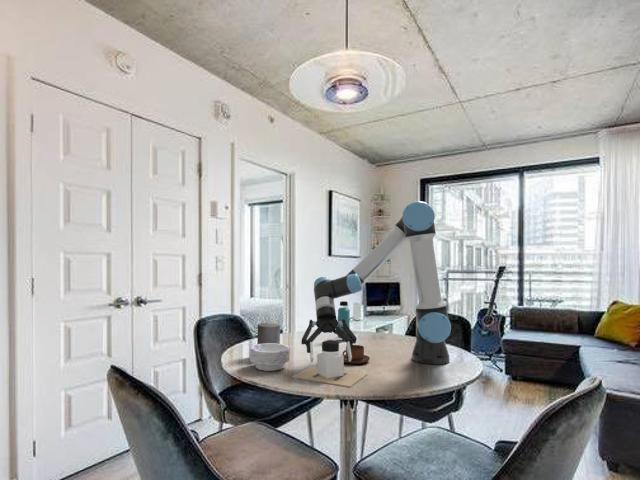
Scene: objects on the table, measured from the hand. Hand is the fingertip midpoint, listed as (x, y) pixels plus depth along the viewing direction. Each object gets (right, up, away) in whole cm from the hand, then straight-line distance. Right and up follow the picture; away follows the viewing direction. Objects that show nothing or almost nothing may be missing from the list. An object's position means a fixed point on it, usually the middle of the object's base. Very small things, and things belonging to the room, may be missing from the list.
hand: (331, 360), depth 138 cm
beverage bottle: (+8, -10, +66) cm, 67 cm away
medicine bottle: (0, -6, +2) cm, 6 cm away
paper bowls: (-23, -7, +12) cm, 27 cm away
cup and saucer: (+10, -8, +23) cm, 26 cm away
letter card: (0, -6, +2) cm, 7 cm away
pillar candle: (-26, -8, +29) cm, 40 cm away
